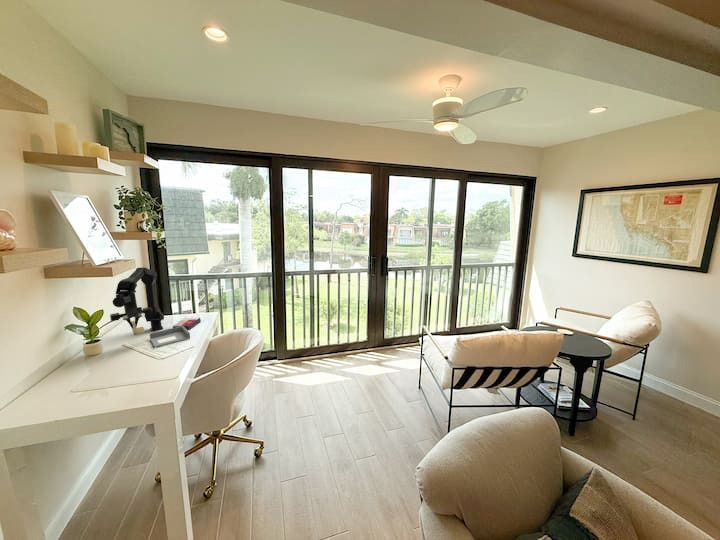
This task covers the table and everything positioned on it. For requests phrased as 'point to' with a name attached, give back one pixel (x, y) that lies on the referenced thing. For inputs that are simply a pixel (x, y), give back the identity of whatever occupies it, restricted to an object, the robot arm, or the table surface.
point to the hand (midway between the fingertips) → (134, 328)
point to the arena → (169, 336)
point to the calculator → (188, 323)
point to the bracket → (137, 329)
